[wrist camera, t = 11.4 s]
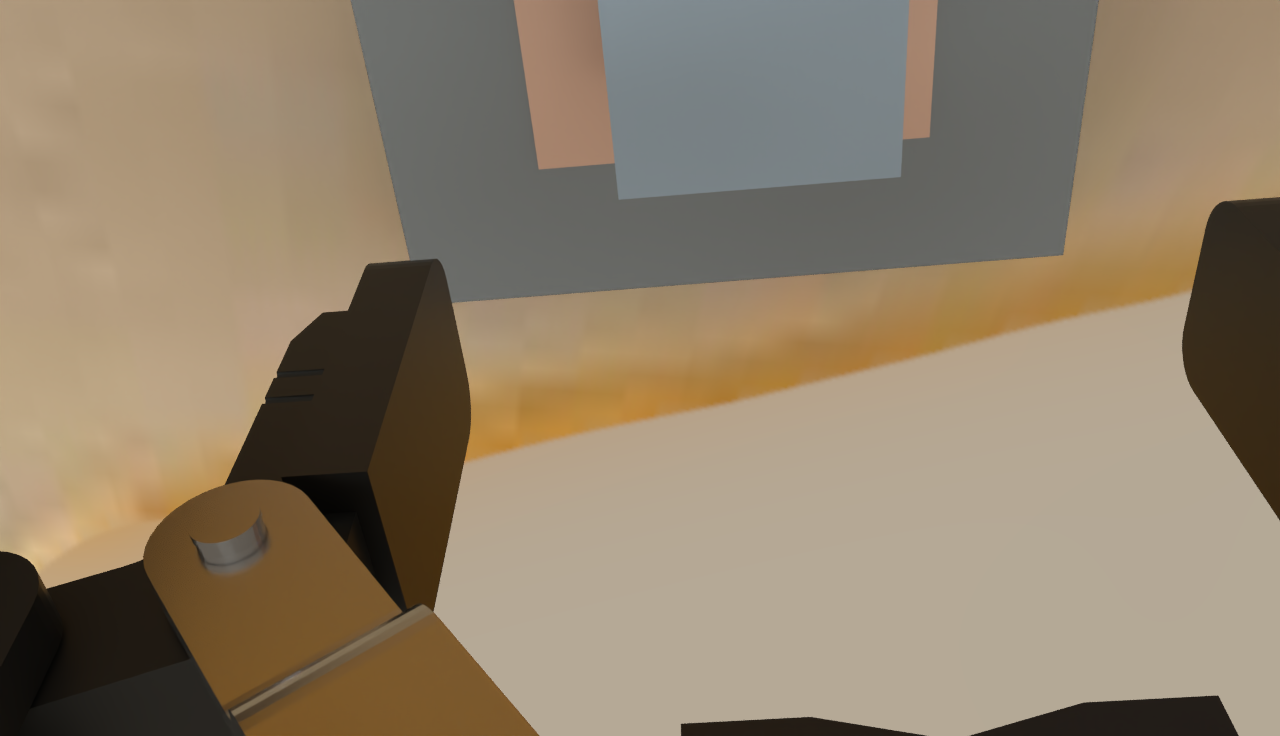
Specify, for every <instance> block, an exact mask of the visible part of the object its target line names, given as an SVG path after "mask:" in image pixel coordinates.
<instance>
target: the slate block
mask: <svg viewBox="0 0 1280 736" xmlns="http://www.w3.org/2000/svg"><path fill="white" fill-rule="evenodd" d="M598 9H599V19H600V28H601V38H602V47H603V57H604V66H605V75H606V85H607V94H608V104H609V113H610V123H611V132H612V142H613V151H614V161H615V170H616V180H617V189H618V198H619V200H621V199H634V198H646V197H659V196H671V195H684V194H696V193H709V192H721V191H733V190H746V189H758V188H771V187H783V186H796V185H808V184H821V183H833V182H845V181H858V180H870V179H883V178H895V177H901V164H902V143H903V122H904V101H905V80H906V59H907V38H908V17H909V0H598Z"/></svg>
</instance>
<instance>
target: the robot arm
mask: <svg viewBox="0 0 1280 736" xmlns="http://www.w3.org/2000/svg"><path fill="white" fill-rule="evenodd" d="M1182 352H1183V361H1184V368H1185V372H1186V375H1187V379H1188V381H1189V384H1190V386H1191V388H1192V389H1193V391H1194V393H1195V394H1196V396H1197V397H1198V399H1199V400H1200V402H1201V403H1202V405H1203V406H1204V408H1205V409H1206V411H1207V412H1208V414H1209V415H1210V417H1211V418H1212V420H1213V421H1214V422H1215V424H1216V426H1217V427H1218V429H1219V430H1220V432H1221V433H1222V435H1223V436H1224V438H1225V439H1226V441H1227V442H1228V444H1229V445H1230V447H1231V448H1232V450H1233V451H1234V453H1235V454H1236V456H1237V457H1238V459H1239V460H1240V462H1241V463H1242V465H1243V466H1244V468H1245V469H1246V470H1247V472H1248V473H1249V475H1250V476H1251V478H1252V479H1253V481H1254V482H1255V484H1256V485H1257V487H1258V488H1259V490H1260V491H1261V493H1262V494H1263V496H1264V497H1265V499H1266V500H1267V502H1268V503H1269V505H1270V506H1271V508H1272V509H1273V511H1274V512H1275V514H1276V515H1277V517H1278V518H1279V520H1280V197H1276V198H1263V199H1249V200H1236V201H1224V202H1221V203H1219V204H1218V205H1217V206H1216V207H1215V208H1214V209H1213V211H1212V212H1211V214H1210V217H1209V219H1208V222H1207V225H1206V229H1205V234H1204V238H1203V243H1202V248H1201V252H1200V257H1199V261H1198V266H1197V270H1196V275H1195V280H1194V284H1193V289H1192V293H1191V298H1190V303H1189V307H1188V312H1187V317H1186V321H1185V326H1184V331H1183V340H1182ZM265 400H266V403H265V404H262V405H261V407H260V410H259V412H258V414H257V416H256V418H255V420H254V423H253V425H252V427H251V429H250V431H249V433H248V436H247V438H246V440H245V442H244V444H243V446H242V449H241V451H240V453H239V455H238V457H237V459H236V462H235V464H234V466H233V468H232V470H231V472H230V475H229V477H228V479H227V481H226V483H225V485H223V486H220V487H217V488H214V489H212V490H209V491H207V492H204V493H202V494H200V495H198V496H196V497H194V498H192V499H190V500H188V501H187V502H185V503H184V504H182V505H181V506H179V507H178V508H176V509H175V510H174V511H173V512H172V513H170V514H169V515H168V516H167V517H166V518H165V519H164V520H163V521H162V522H161V523H160V524H159V525H158V526H157V528H156V529H155V531H154V532H153V533H152V535H151V536H150V538H149V540H148V542H147V544H146V547H145V551H144V556H143V560H141V561H139V562H136V563H133V564H130V565H127V566H124V567H121V568H117V569H114V570H110V571H107V572H103V573H100V574H96V575H93V576H89V577H86V578H83V579H79V580H76V581H72V582H69V583H65V584H62V585H58V586H55V587H51V588H48V589H46V587H45V586H44V584H43V582H42V580H41V578H40V576H39V574H38V572H37V571H36V569H35V567H34V565H33V564H31V563H30V562H29V561H28V560H27V559H25V558H23V557H22V556H20V555H17V554H13V553H9V552H1V551H0V736H539V735H538V734H537V732H536V731H535V730H534V729H533V728H532V727H531V725H530V724H529V723H528V722H527V721H526V720H525V718H524V717H523V716H522V715H521V714H520V713H519V711H518V710H517V709H516V708H515V707H514V705H513V704H512V703H511V702H510V701H509V700H508V698H507V697H506V696H505V695H504V694H503V693H502V692H501V690H500V689H499V688H498V687H497V686H496V685H495V683H494V682H493V681H492V680H491V678H490V677H489V676H488V675H487V674H486V673H485V671H484V670H483V669H482V668H481V667H480V666H479V664H478V663H477V662H476V661H475V660H474V659H473V657H472V656H471V655H470V654H469V653H468V652H467V650H466V649H465V648H464V647H463V646H462V644H460V642H459V641H458V640H457V639H456V637H455V636H454V635H453V634H452V633H451V632H450V630H449V629H448V628H447V627H446V626H445V625H444V623H443V622H442V621H441V620H440V619H439V618H438V617H437V616H436V614H435V613H434V612H433V611H434V607H435V602H436V597H437V592H438V587H439V582H440V577H441V572H442V567H443V562H444V557H445V552H446V547H447V543H448V538H449V533H450V528H451V523H452V518H453V513H454V509H455V503H456V499H457V494H458V488H459V483H460V479H461V474H462V469H463V465H464V460H465V455H466V450H467V445H468V440H469V434H470V425H471V403H470V391H469V384H468V378H467V373H466V368H465V363H464V359H463V354H462V349H461V344H460V340H459V335H458V330H457V325H456V321H455V316H454V311H453V306H452V302H451V297H450V292H449V288H448V283H447V279H446V275H445V271H444V269H443V266H442V264H441V262H440V261H439V260H438V259H425V260H411V261H398V262H385V263H371V264H368V265H367V266H366V268H365V270H364V272H363V275H362V277H361V280H360V282H359V285H358V287H357V290H356V292H355V294H354V297H353V299H352V302H351V304H350V307H349V309H348V311H339V312H325V313H322V314H321V315H320V316H319V317H317V318H316V319H315V320H314V321H313V322H312V323H311V324H310V325H309V326H307V327H306V328H305V329H304V330H303V331H302V332H301V333H300V334H298V335H297V336H296V337H295V338H294V339H293V340H292V341H291V342H290V344H289V347H288V349H287V351H286V353H285V355H284V358H283V360H282V362H281V364H280V366H279V368H278V371H277V378H274V379H273V381H272V384H271V386H270V388H269V390H268V392H267V394H266V397H265ZM681 736H925V735H919V734H913V733H906V732H900V731H893V730H887V729H881V728H875V727H869V726H862V725H857V724H850V723H844V722H838V721H832V720H825V719H819V718H813V717H802V718H783V719H765V720H745V721H728V722H707V723H688V724H681ZM971 736H1238V734H1237V732H1236V730H1235V728H1234V726H1233V724H1232V722H1231V720H1230V718H1229V716H1228V714H1227V712H1226V710H1225V708H1224V706H1223V704H1222V702H1221V700H1220V698H1219V696H1202V697H1182V698H1163V699H1145V700H1127V701H1126V700H1125V701H1107V702H1087V703H1081V704H1077V705H1074V706H1071V707H1067V708H1064V709H1060V710H1057V711H1053V712H1050V713H1046V714H1043V715H1040V716H1036V717H1033V718H1029V719H1026V720H1022V721H1019V722H1016V723H1012V724H1009V725H1005V726H1002V727H998V728H995V729H991V730H988V731H984V732H981V733H978V734H974V735H971Z"/></svg>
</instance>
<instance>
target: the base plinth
mask: <svg viewBox="0 0 1280 736" xmlns="http://www.w3.org/2000/svg"><path fill="white" fill-rule="evenodd" d="M1098 1H1099V0H909V17H908V38H907V59H906V80H905V101H904V122H903V143H902V164H901V177H895V178H883V179H870V180H858V181H845V182H833V183H821V184H808V185H796V186H783V187H771V188H758V189H746V190H733V191H721V192H709V193H696V194H684V195H671V196H659V197H646V198H634V199H621V200H619V198H618V189H617V180H616V170H615V161H614V151H613V142H612V132H611V123H610V113H609V104H608V94H607V85H606V75H605V66H604V57H603V47H602V38H601V28H600V19H599V9H598V0H351V3H352V8H353V12H354V16H355V21H356V25H357V30H358V34H359V38H360V43H361V47H362V52H363V56H364V60H365V65H366V69H367V74H368V78H369V82H370V87H371V91H372V95H373V100H374V104H375V109H376V113H377V117H378V122H379V126H380V131H381V135H382V139H383V144H384V148H385V152H386V157H387V161H388V166H389V170H390V174H391V179H392V183H393V188H394V192H395V196H396V201H397V205H398V209H399V214H400V218H401V223H402V227H403V231H404V236H405V240H406V245H407V249H408V253H409V258H410V261H411V260H425V259H438V260H439V261H440V262H441V264H442V266H443V269H444V271H445V275H446V279H447V283H448V288H449V292H450V297H451V302H452V303H454V302H467V301H480V300H493V299H506V298H519V297H531V296H544V295H557V294H570V293H583V292H596V291H609V290H621V289H634V288H647V287H660V286H673V285H686V284H698V283H711V282H724V281H737V280H750V279H763V278H776V277H788V276H801V275H814V274H827V273H840V272H853V271H866V270H878V269H891V268H904V267H917V266H930V265H943V264H955V263H968V262H981V261H994V260H1007V259H1020V258H1033V257H1045V256H1058V255H1063V252H1064V245H1065V237H1066V230H1067V223H1068V216H1069V209H1070V202H1071V194H1072V187H1073V180H1074V173H1075V166H1076V159H1077V152H1078V144H1079V137H1080V130H1081V123H1082V116H1083V109H1084V101H1085V94H1086V87H1087V80H1088V73H1089V66H1090V59H1091V51H1092V44H1093V37H1094V30H1095V23H1096V16H1097V9H1098Z"/></svg>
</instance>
